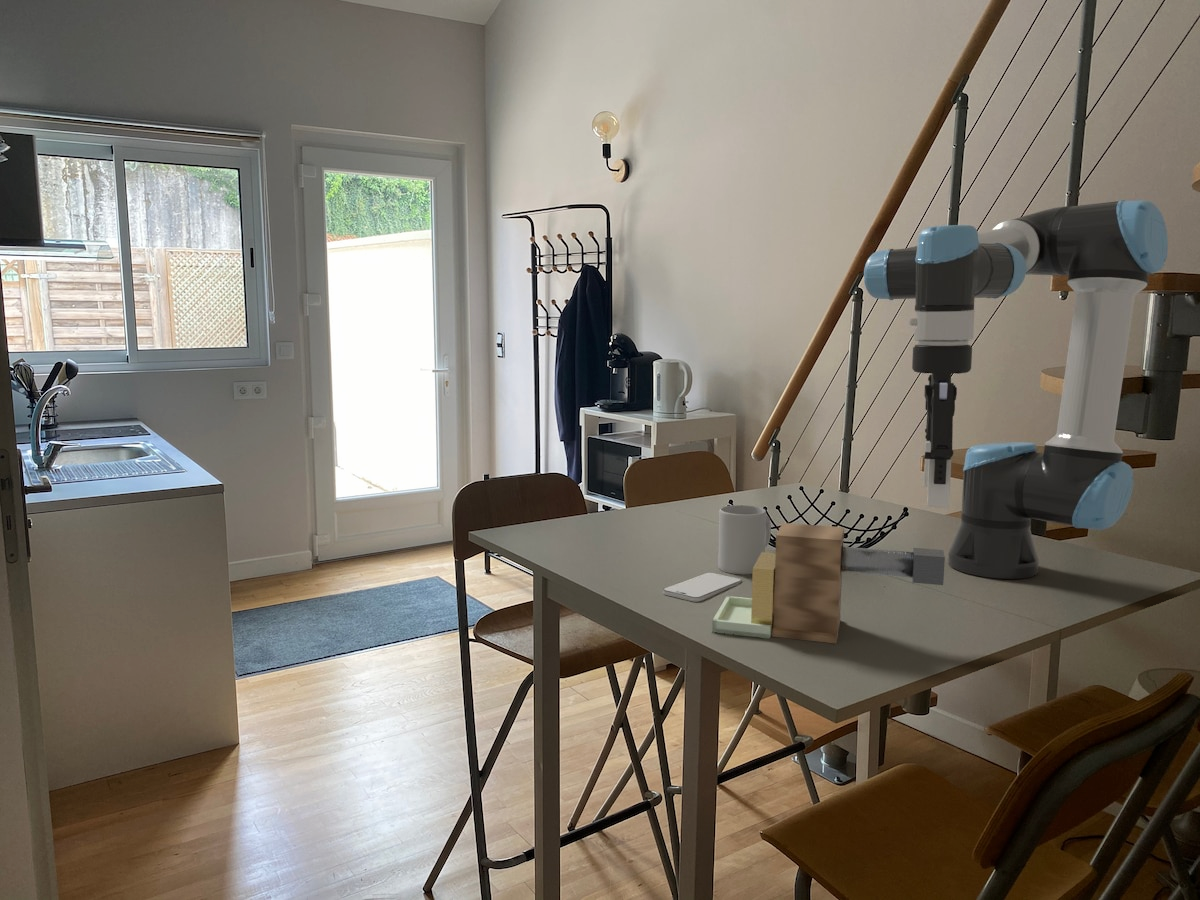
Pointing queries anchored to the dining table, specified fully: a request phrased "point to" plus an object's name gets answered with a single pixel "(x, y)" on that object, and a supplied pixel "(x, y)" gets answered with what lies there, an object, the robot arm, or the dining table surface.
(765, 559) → the yellow square block
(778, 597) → the walnut housing
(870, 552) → the steel shaft
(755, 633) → the green tray
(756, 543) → the mug
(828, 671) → the dining table surface
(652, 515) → the dining table surface
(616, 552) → the dining table surface
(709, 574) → the smartphone
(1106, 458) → the robot arm
